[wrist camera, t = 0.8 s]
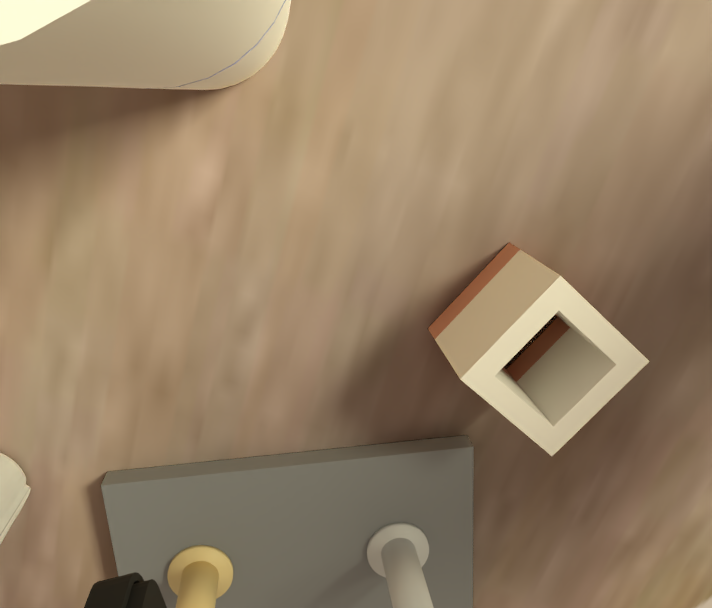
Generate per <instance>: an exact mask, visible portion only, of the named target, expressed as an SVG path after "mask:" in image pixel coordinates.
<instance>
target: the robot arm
mask: <svg viewBox="0 0 712 608" xmlns="http://www.w3.org/2000/svg"><path fill="white" fill-rule="evenodd" d="M84 608H167V607H166V604H165V602H164V599H163V596H162V594H161V591H160V589H159V586H158V584H157V582H156V581H155V580H153V579H151V580H147V581H144V579H143V577H142V576H141V575H140V574H139V573H136V572H134V573H130V574H127V575H123V576H119V577H115V578H111V579H107V580H103V581H99V582H97V583H95V584H94V585H93V587H92V589H91V591H90V594H89V596H88V599H87V602H86V604H85V607H84Z"/></svg>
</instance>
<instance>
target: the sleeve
mask: <svg viewBox="0 0 712 608" xmlns="http://www.w3.org/2000/svg"><path fill="white" fill-rule="evenodd" d="M554 315H556V316H557V318H556V319H555V320H554V321H553V322H552V324H551V325H550V326H549V327H548V328H547V329H546V330H545V331H544V332H543V333H542V334H541V335H540V336H539V337H538V338H537V339H536V340H535V341H534V342H533V343H532V344H531V345H530V346H529V347H528V348H527V349H526V350H525V351H524V352H523V353H522V354H521V355H520V356H519V357H518V358H517V359H516V360H515V361H514V362H513V363H512V364H511V365H510V366H509V367H508V368H507V369H505V368H504V366H505V365H506V364H507V363H508V362H509V361H510V360H511V359H512V358H513V357H514V356H515V355H516V354H517V353H518V352H519V351H520V350H521V349H522V348H523V347H524V346H525V344H526V343H527V342H528V341H529V340H530V339H531V338H532V337H533V336H534V335H535V334H536V333H537V332H538V331H539V330H540V329H541V328H542V327H543V326H544V325H545V324H546V323H547V322H548V321H549V320H550V319H551V318H552V317H553V316H554ZM428 330H429V331H430V333H431V335H432V336H433V338H434V339H435V341H436V342H437V344H438V345H439V347H440V349H441V350H442V352H443V353H444V355H445V356H446V358H447V359H448V361H449V363H450V364H451V366H452V367H453V369H454V370H455V372H456V374H457V375H458V377H459V378H460V380H462V381H463V382H464V383H465V384H466V385H468V386H469V387H470V388H471V389H472V390H474V391H475V392H476V393H477V394H478V395H480V396H481V397H482V398H483V399H484V400H485V401H487V402H488V403H489V404H490V405H491V406H493V407H494V408H495V409H496V410H497V411H499V412H500V413H501V414H502V415H503V416H504V417H506V418H507V419H508V420H509V421H510V422H512V423H513V424H514V425H515V426H516V427H518V428H519V429H520V430H521V431H522V432H524V433H525V434H526V435H527V436H528V437H529V438H531V439H532V440H533V441H534V442H535V443H537V444H538V445H539V446H540V447H541V448H543V449H544V450H545V451H546V452H547V453H548V454H550V455H551V456H553V455H554V454H555V453H556V452H557V451H558V450H559V449H560V448H561V447H562V446H563V445H564V444H565V443H566V442H567V441H568V440H570V439H571V438H572V437H573V436H574V435H575V434H576V433H577V432H578V431H579V430H580V429H581V428H582V427H583V426H584V425H585V424H586V423H587V422H588V421H589V420H590V419H591V418H592V417H593V416H594V415H595V414H596V413H597V412H598V411H599V410H600V409H601V408H602V407H603V406H604V405H605V404H606V403H607V402H608V401H609V400H610V399H612V398H613V397H614V396H615V395H616V394H617V393H618V392H619V391H620V390H621V389H622V388H623V387H624V386H625V385H626V384H627V383H628V382H629V381H630V380H631V379H632V378H633V377H634V376H635V375H636V374H637V373H638V372H639V371H640V370H641V369H642V368H643V367H644V366H645V365H646V364H647V363H648V362H649V360H648V359H647V358H646V357H644V356H643V355H642V354H641V353H640V352H639V351H638V350H637V349H636V348H635V347H634V346H633V345H632V344H631V343H630V342H629V341H628V340H627V339H626V338H625V337H624V336H623V335H622V334H621V333H620V332H619V331H618V330H616V329H615V328H614V327H613V326H612V325H611V324H610V323H609V322H608V321H607V320H606V319H605V318H604V317H603V316H602V315H601V314H600V313H599V312H598V311H597V310H596V309H595V308H594V307H593V306H592V305H591V304H590V303H588V302H587V301H586V300H585V299H584V298H583V297H582V296H581V295H580V294H579V293H578V292H577V291H576V290H575V289H574V288H573V287H572V286H571V285H570V284H569V283H568V282H567V281H566V280H565V279H564V278H563V277H562V276H560V275H559V274H557V273H556V272H554V271H553V270H551V269H550V268H548V267H546V266H545V265H543V264H542V263H540V262H539V261H537V260H536V259H534V258H533V257H531V256H529V255H528V254H526V253H525V252H523V251H522V250H520V249H519V248H517V247H515V246H514V245H512V244H511V243H508V244H507V245H506V246H505V247H504V248H503V249H502V250H501V251H500V252H499V254H498V255H497V256H496V257H495V258H494V259H493V260H492V261H491V262H490V263H489V264H488V265H487V266H486V267H485V268H484V269H483V270H482V272H481V273H480V274H479V275H478V276H477V277H476V278H475V279H474V280H473V281H472V282H471V283H470V284H469V285H468V286H467V287H466V288H465V290H464V291H463V292H462V293H461V294H460V295H459V296H458V297H457V298H456V299H455V300H454V301H453V302H452V303H451V304H450V305H449V306H448V308H447V309H446V310H445V311H444V312H443V313H442V314H441V315H440V316H439V317H438V318H437V319H436V320H435V321H434V322H433V323H432V325H431V326H430V327H429V328H428Z"/></svg>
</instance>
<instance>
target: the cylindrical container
mask: <svg viewBox="0 0 712 608" xmlns="http://www.w3.org/2000/svg"><path fill="white" fill-rule="evenodd" d="M290 4H291V0H0V84H10V85H50V86H91V87H118V88H144V89H190V90H212V89H222V88H226V87H229V86H233V85H236V84H238V83H240V82H242V81H244V80H246V79H248V78H250V77H251V76H253V75H254V74H255V73H256V72H258V71H259V70H260V69H261V68H262V67H263V66H265V65H266V63H267V62H268V61H269V60H270V58H271V57H272V56H273V54H274V53H275V52H276V50H277V48H278V46H279V44H280V42H281V40H282V38H283V35H284V32H285V28H286V25H287V22H288V16H289V10H290Z"/></svg>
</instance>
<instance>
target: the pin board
mask: <svg viewBox="0 0 712 608" xmlns="http://www.w3.org/2000/svg"><path fill="white" fill-rule="evenodd" d="M473 476H474V447H473V445H472V443H471V441H470V439H469V438H468V436H467V435H463V436H453V437H443V438H434V439H424V440H414V441H404V442H394V443H385V444H375V445H365V446H355V447H346V448H336V449H326V450H316V451H306V452H297V453H287V454H277V455H267V456H257V457H248V458H238V459H228V460H218V461H208V462H199V463H189V464H179V465H169V466H159V467H150V468H140V469H130V470H120V471H110V472H107V473H106V475H105V477H104V480H103V482H102V484H101V489H102V494H103V499H104V504H105V509H106V515H107V520H108V525H109V530H110V535H111V541H112V546H113V551H114V556H115V561H116V567H117V572H118V577H119V576H123V575H127V574H130V573H134V572H136V573H139V574H140V575H141V576H142V577H143V579H144V581H147V580H151V579H153V580H155V581H156V582H157V584H158V586H159V589H160V591H161V594H162V596H163V599H164V602H165V604H166V607H167V608H473Z"/></svg>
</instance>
